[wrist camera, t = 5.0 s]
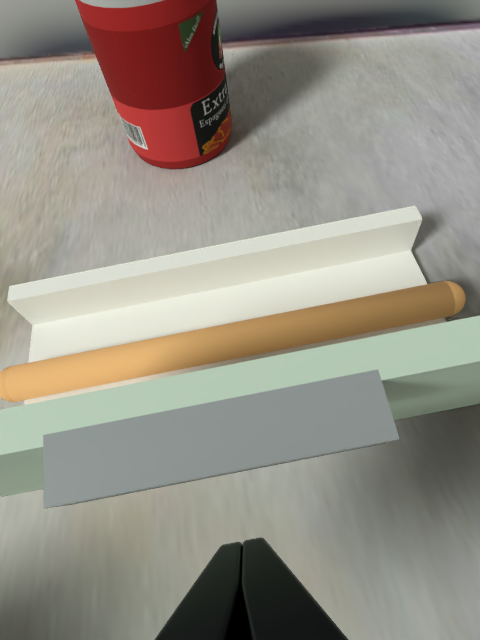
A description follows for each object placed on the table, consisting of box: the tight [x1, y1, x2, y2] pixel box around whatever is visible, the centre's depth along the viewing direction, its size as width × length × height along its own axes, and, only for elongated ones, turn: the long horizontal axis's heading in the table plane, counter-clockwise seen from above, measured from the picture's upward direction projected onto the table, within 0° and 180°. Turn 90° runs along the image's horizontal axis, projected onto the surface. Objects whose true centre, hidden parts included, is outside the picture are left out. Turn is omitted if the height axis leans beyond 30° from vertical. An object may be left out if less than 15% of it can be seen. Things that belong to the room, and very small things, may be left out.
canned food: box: [75, 0, 232, 169], centre depth 27 cm, size 8×8×11 cm
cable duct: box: [7, 206, 446, 405], centre depth 21 cm, size 10×22×3 cm, turn 99°
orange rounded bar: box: [0, 281, 466, 402], centre depth 21 cm, size 2×24×2 cm, turn 99°
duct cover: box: [0, 316, 480, 508], centre depth 12 cm, size 10×22×2 cm
